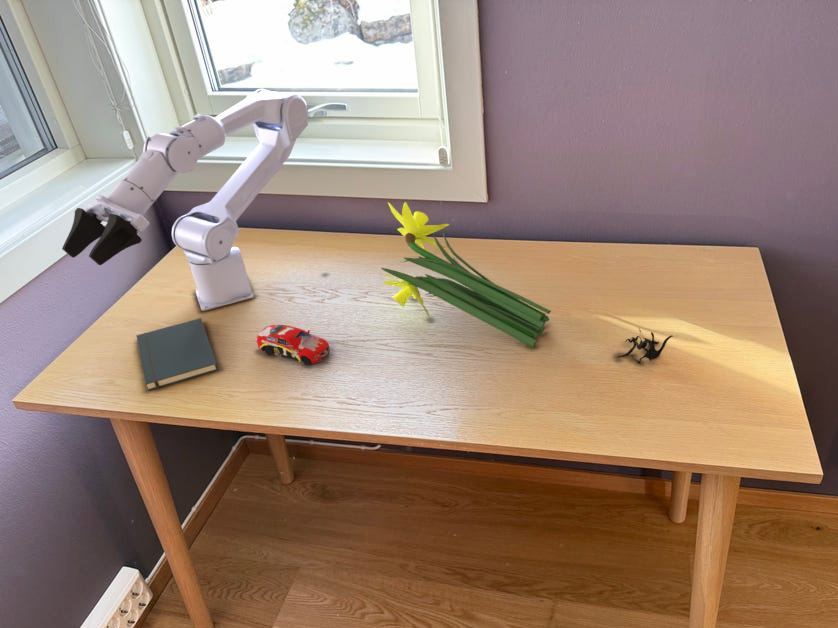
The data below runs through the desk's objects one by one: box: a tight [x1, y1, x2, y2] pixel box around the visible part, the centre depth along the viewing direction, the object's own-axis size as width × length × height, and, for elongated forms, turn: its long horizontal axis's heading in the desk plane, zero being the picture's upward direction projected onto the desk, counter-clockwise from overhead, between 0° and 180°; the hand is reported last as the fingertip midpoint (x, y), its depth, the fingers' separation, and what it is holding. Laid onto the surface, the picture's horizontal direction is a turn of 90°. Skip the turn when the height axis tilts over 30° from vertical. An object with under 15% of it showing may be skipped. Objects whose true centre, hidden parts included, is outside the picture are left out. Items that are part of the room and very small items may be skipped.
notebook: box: [136, 317, 219, 392], centre depth 128 cm, size 11×16×1 cm
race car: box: [256, 324, 331, 366], centre depth 126 cm, size 13×5×4 cm, turn 63°
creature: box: [618, 328, 674, 364], centre depth 120 cm, size 8×5×8 cm
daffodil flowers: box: [378, 201, 552, 348], centre depth 130 cm, size 17×15×35 cm
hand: (80, 257), depth 117 cm, fingers open, 7 cm apart
